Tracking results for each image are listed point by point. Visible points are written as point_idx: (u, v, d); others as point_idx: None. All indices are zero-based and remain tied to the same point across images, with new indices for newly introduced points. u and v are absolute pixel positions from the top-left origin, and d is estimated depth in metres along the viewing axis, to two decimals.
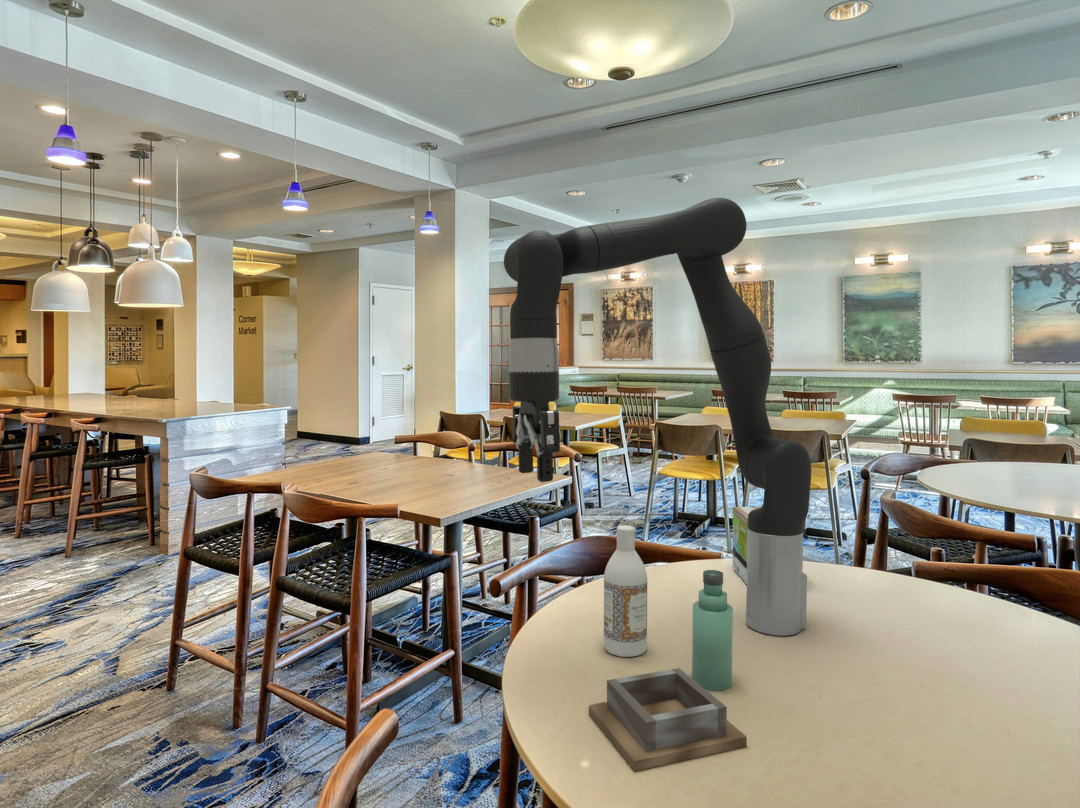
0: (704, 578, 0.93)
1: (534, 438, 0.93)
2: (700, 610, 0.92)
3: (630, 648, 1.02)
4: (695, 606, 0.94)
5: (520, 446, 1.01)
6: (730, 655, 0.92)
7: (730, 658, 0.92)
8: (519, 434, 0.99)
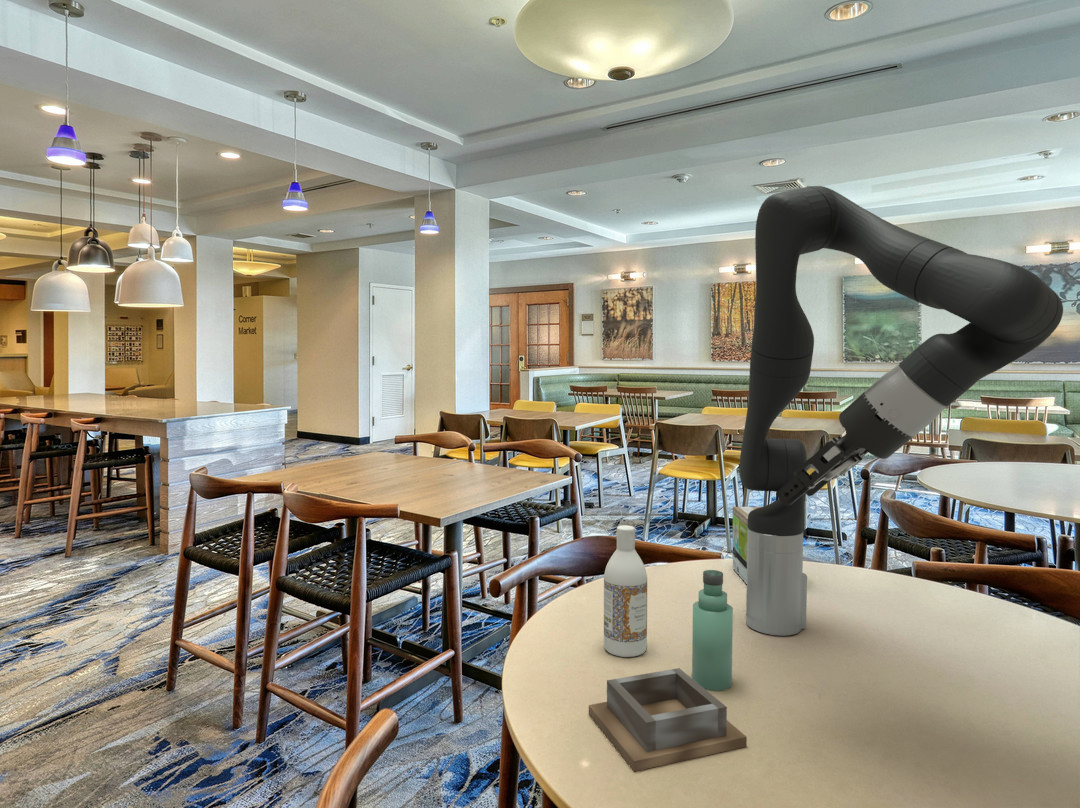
0: (704, 578, 0.93)
1: None
2: (700, 610, 0.92)
3: (630, 648, 1.02)
4: (695, 606, 0.94)
5: None
6: (730, 655, 0.92)
7: (730, 658, 0.92)
8: None
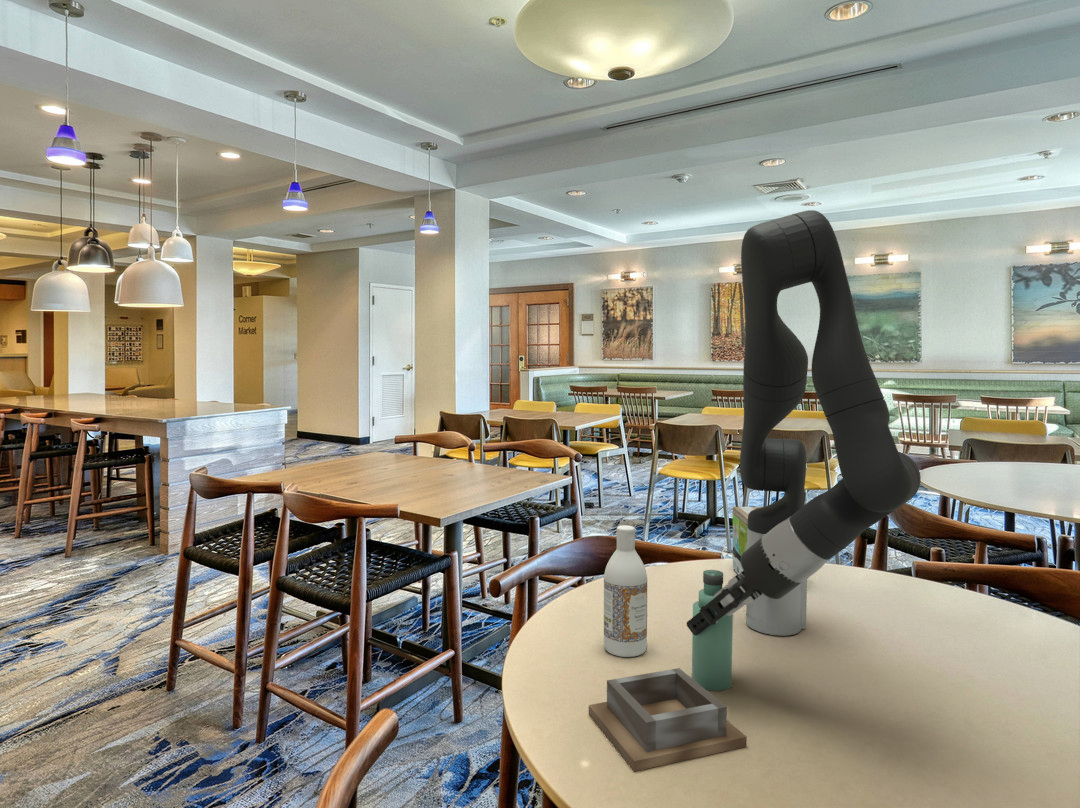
0: (704, 578, 0.93)
1: None
2: None
3: (630, 648, 1.02)
4: (695, 606, 0.94)
5: None
6: (730, 655, 0.92)
7: (730, 658, 0.92)
8: None
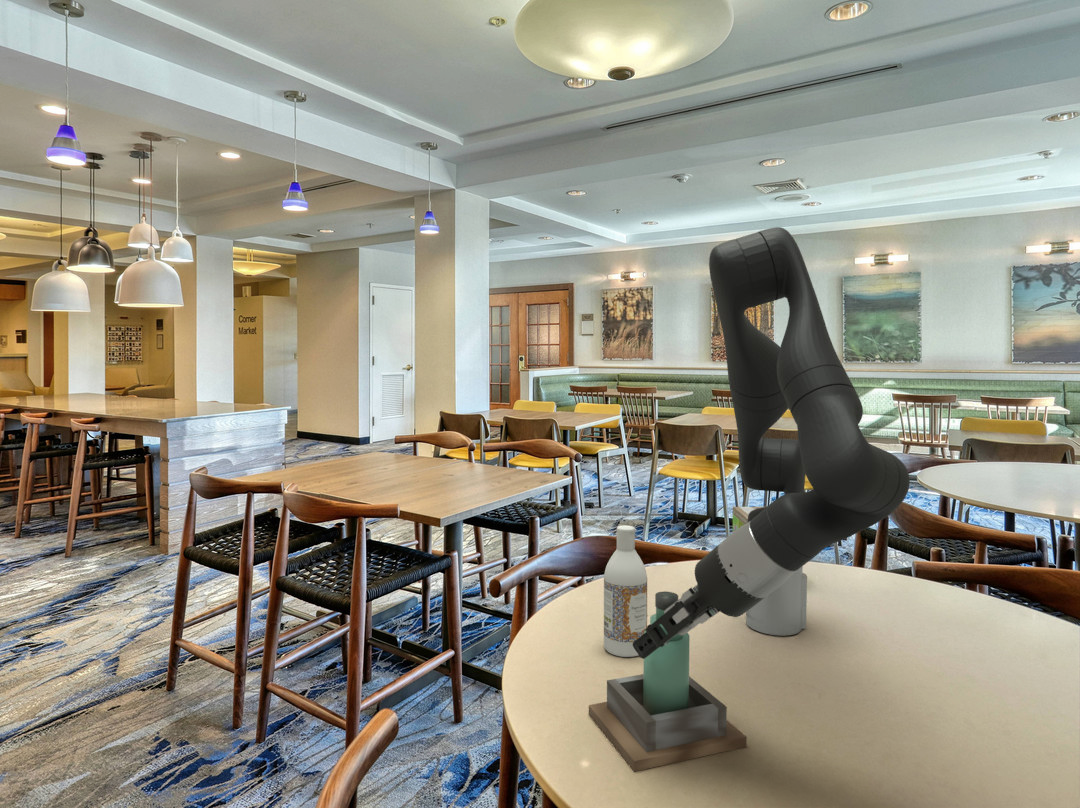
0: (656, 601, 0.80)
1: None
2: None
3: (630, 648, 1.02)
4: None
5: None
6: (686, 691, 0.79)
7: (686, 695, 0.79)
8: None
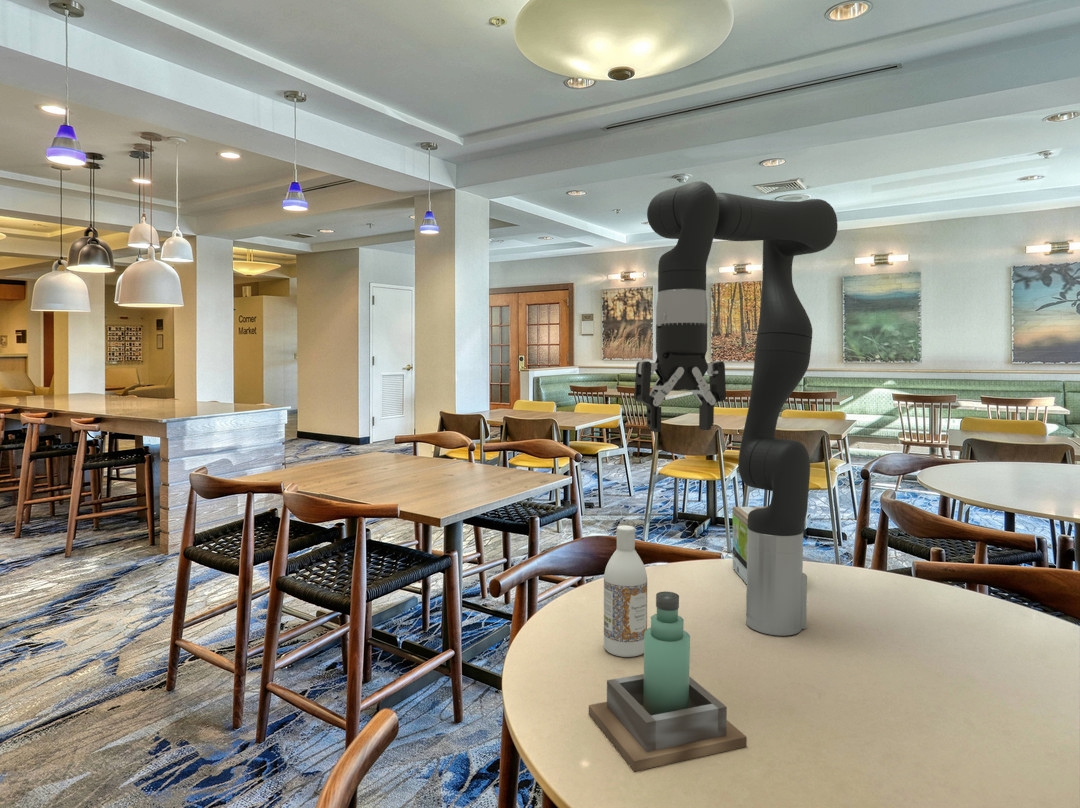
0: (657, 602, 0.80)
1: (709, 388, 0.97)
2: (652, 639, 0.79)
3: (630, 648, 1.02)
4: (647, 634, 0.81)
5: None
6: (686, 691, 0.79)
7: (686, 695, 0.79)
8: (670, 389, 0.95)
